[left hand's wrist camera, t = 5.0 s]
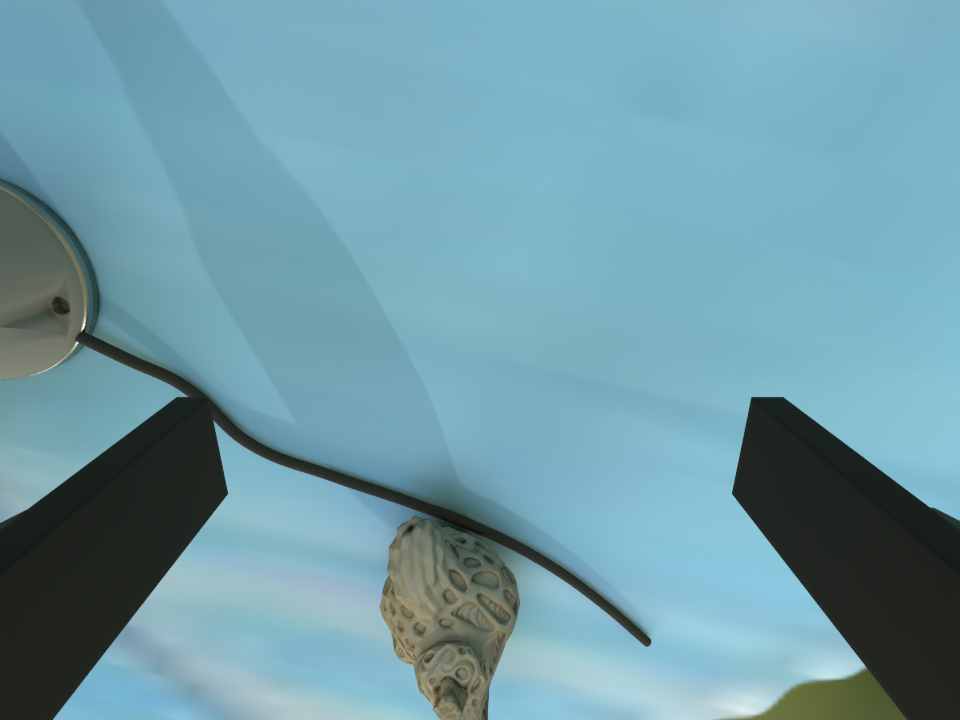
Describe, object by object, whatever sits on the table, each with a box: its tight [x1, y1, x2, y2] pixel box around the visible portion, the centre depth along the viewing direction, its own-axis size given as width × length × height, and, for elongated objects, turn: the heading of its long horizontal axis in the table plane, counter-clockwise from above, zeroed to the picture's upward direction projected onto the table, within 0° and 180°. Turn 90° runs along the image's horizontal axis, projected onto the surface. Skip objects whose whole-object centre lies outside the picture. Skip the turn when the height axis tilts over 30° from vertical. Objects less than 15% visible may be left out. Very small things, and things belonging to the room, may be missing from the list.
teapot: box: [380, 516, 520, 720], centre depth 42 cm, size 21×12×15 cm, turn 13°
